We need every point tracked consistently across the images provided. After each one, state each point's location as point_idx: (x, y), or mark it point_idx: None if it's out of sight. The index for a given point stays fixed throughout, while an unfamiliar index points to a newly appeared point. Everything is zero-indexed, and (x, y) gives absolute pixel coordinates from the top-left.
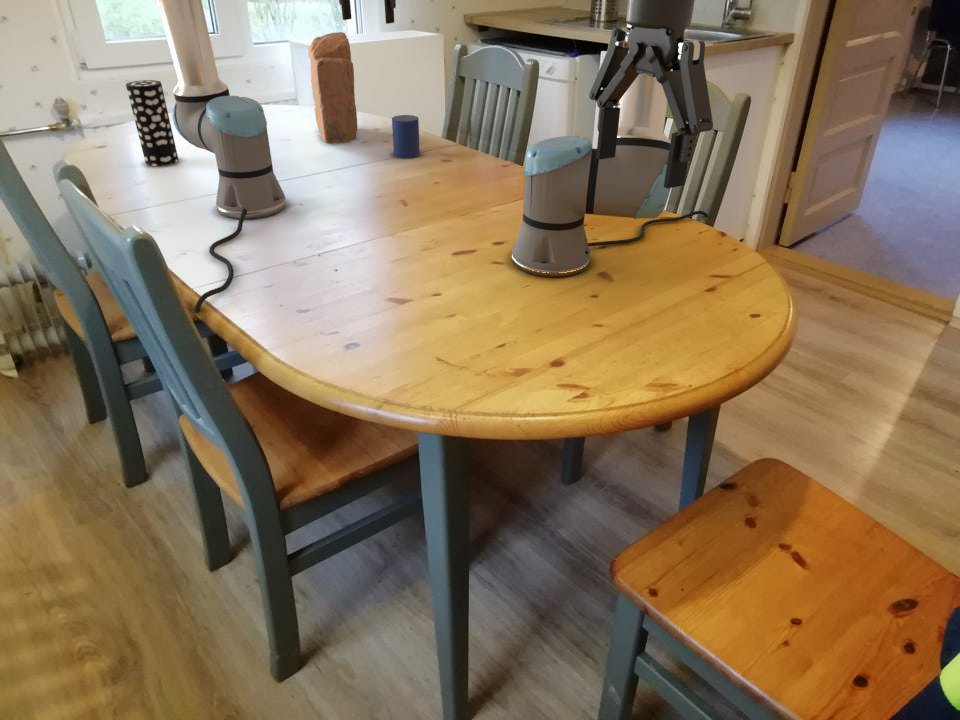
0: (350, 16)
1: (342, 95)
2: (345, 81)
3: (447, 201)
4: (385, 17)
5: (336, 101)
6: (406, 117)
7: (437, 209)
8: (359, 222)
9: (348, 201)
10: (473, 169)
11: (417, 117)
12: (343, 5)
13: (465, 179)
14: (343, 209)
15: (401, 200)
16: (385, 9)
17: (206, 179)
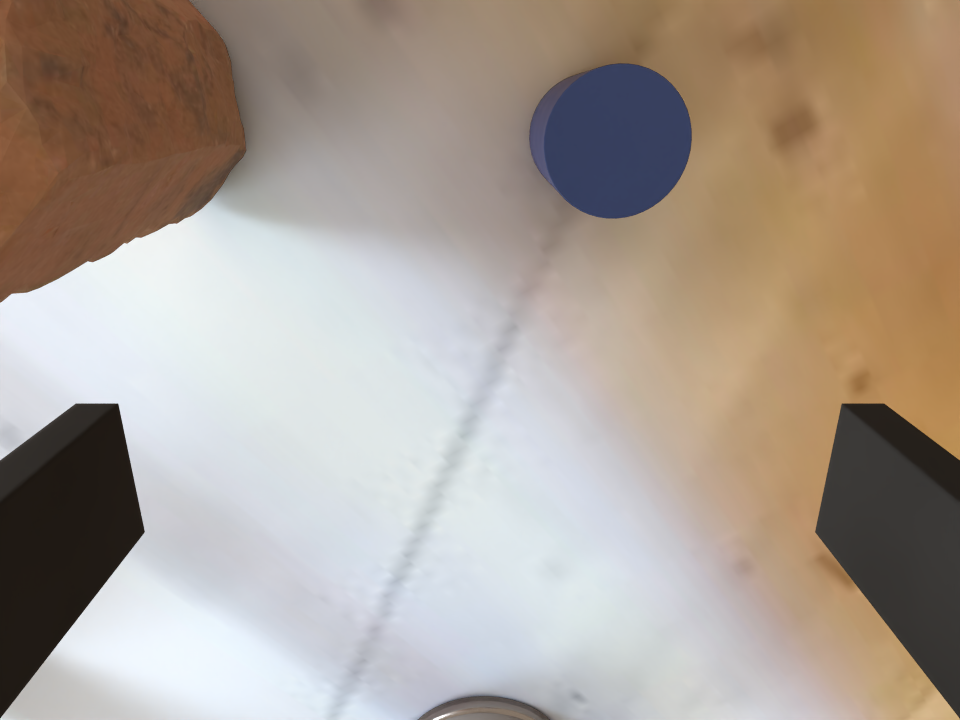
0: (104, 436)
1: (164, 163)
2: (126, 130)
3: None
4: (850, 576)
5: (157, 191)
6: (616, 126)
7: None
8: (786, 713)
9: (679, 628)
10: (942, 171)
11: (672, 92)
12: (34, 668)
13: (947, 297)
14: (700, 673)
15: (818, 557)
16: (924, 658)
17: (195, 681)
